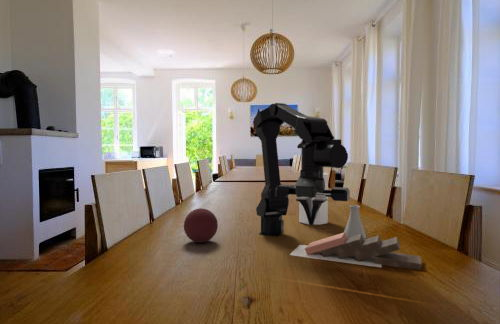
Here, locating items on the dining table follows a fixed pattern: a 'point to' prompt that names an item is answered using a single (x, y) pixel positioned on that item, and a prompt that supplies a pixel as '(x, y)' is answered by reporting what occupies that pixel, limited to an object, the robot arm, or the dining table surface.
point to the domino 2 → (345, 245)
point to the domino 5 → (399, 260)
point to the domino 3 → (362, 247)
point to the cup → (322, 213)
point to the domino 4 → (380, 249)
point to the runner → (333, 257)
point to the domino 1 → (326, 243)
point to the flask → (354, 223)
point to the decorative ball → (200, 225)
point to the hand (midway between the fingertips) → (311, 224)
